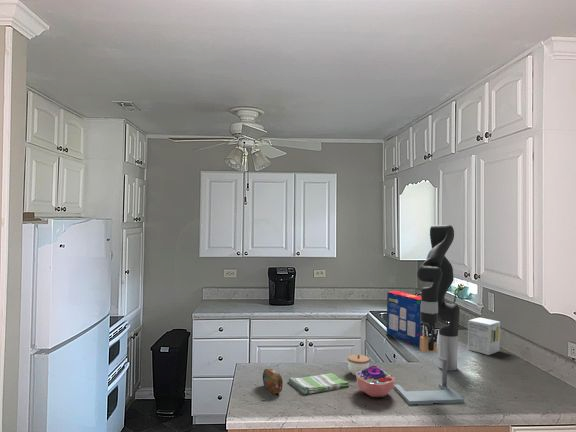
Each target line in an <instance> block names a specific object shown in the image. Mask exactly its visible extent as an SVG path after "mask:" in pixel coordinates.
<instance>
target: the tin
mask: <svg viewBox="0 0 576 432" xmlns="http://www.w3.org/2000/svg"><path fill="white" fill-rule="evenodd" d="M262 372H263V373H262V381H263V382H262V383H263V387H265V388H266V389H267V390H268V391H269V392H271V393H272V394H273V395H276V394H280V393H281V392H282V391H283V383H284V382H283V377H282V375H281V374H280V373H279V372H277V371H276V370H274V369H273V368H265V369H263V371H262Z"/></svg>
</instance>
